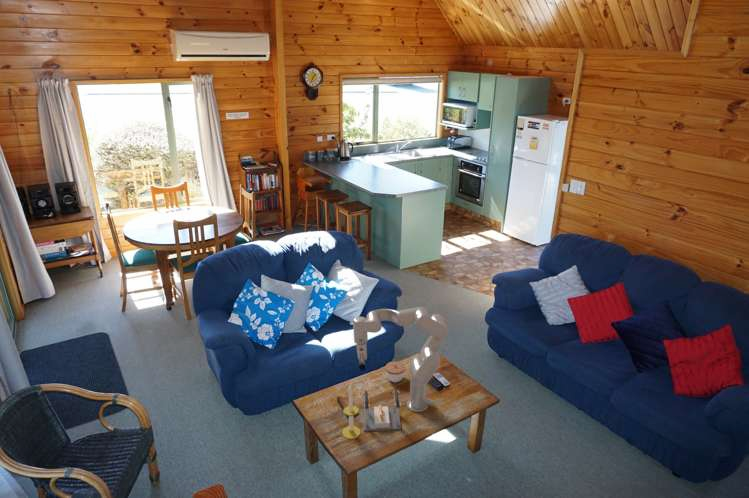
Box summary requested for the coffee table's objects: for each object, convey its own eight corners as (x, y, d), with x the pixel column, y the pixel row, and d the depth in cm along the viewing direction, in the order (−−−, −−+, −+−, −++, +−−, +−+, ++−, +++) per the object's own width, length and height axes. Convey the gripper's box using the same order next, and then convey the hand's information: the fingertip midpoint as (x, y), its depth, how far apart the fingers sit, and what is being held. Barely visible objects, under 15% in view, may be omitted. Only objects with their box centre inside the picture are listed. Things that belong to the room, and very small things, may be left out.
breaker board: (398, 410, 297) (398, 388, 291) (401, 429, 282) (401, 407, 276) (363, 411, 296) (362, 389, 290) (363, 431, 281) (363, 408, 275)
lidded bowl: (384, 373, 330) (384, 359, 326) (403, 372, 331) (403, 358, 327) (386, 385, 318) (386, 371, 314) (406, 384, 320) (406, 369, 315)
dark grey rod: (367, 392, 290) (367, 390, 290) (368, 409, 277) (368, 407, 276) (364, 392, 290) (364, 390, 290) (365, 409, 277) (365, 407, 276)
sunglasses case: (361, 414, 293) (355, 408, 290) (351, 422, 292) (346, 416, 289) (349, 396, 309) (344, 390, 305) (340, 404, 308) (334, 397, 304)
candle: (346, 441, 274) (344, 391, 262) (339, 429, 282) (338, 380, 270) (363, 435, 278) (362, 386, 266) (356, 424, 286) (355, 375, 274)
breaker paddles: (382, 409, 291) (380, 404, 290) (383, 419, 283) (381, 414, 282) (380, 409, 291) (378, 405, 290) (380, 419, 283) (379, 415, 282)
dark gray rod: (397, 391, 291) (397, 389, 290) (399, 408, 277) (399, 405, 277) (394, 391, 291) (394, 389, 290) (396, 408, 277) (396, 406, 277)
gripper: (368, 346, 272) (369, 373, 278) (367, 329, 288) (368, 355, 294) (354, 347, 272) (355, 374, 278) (353, 330, 288) (355, 356, 294)
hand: (362, 364), depth 286 cm, fingers open, 9 cm apart
